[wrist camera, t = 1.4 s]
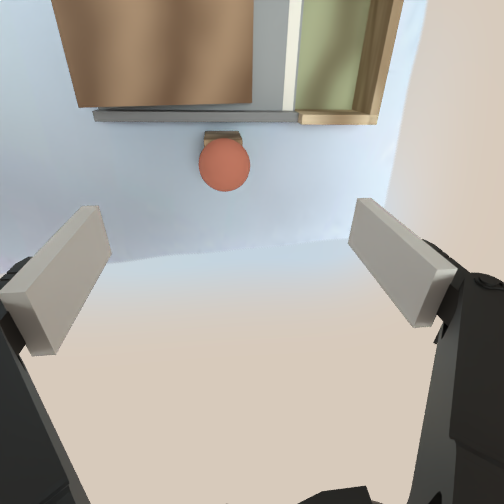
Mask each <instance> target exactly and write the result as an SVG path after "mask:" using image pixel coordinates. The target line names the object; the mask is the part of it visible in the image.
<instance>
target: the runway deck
mask: <svg viewBox="0 0 504 504" xmlns="http://www.w3.org/2000/svg"><path fill="white" fill-rule="evenodd" d="M303 7H304V0H254V13H253V74H252V103H235V104H197V105H159V106H121V107H98V110H95V111H93V116H94V120H95V121H103V122H298V116H299V113H298V112H296V111H295V101H296V89H297V78H298V66H299V54H300V42H301V30H302V18H303Z"/></svg>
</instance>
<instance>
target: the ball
mask: <svg viewBox="0 0 504 504" xmlns="http://www.w3.org/2000/svg"><path fill="white" fill-rule="evenodd" d="M199 171H200V174H201V177H202V178H203V180H204V181H205V182H206V184H207V185H209V186H210V187H211V188H213V189H215V190H218V191H225V192H226V191H232V190H235V189H237V188H238V187H240V186H241V185H242V184H243V183H244V182H245V181H246V179H247V177H248V174H249V171H250V160H249V156H248V154H247V152H246V150H245V149H244V148H243V146H242V145H240V144H239V143H238V142H236V141H234V140H232V139H228V138H220V139H216V140H213V141H211V142H210V143H208V144H207V145H206V146H205V147H204V149H203V150H202V152H201V154H200V157H199Z"/></svg>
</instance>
